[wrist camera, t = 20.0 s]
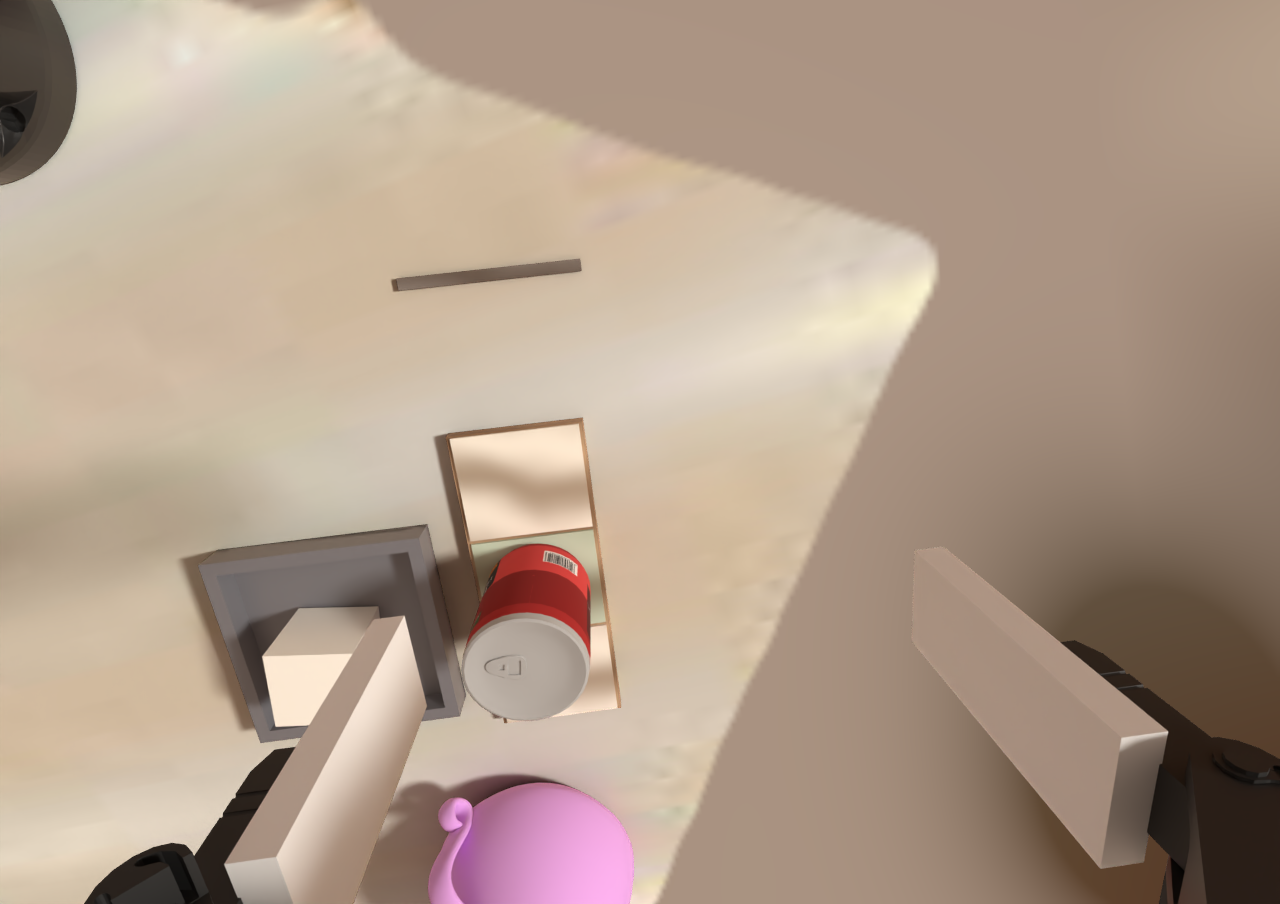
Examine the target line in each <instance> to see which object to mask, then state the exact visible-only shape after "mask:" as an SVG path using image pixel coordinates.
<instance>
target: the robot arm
mask: <svg viewBox="0 0 1280 904" xmlns="http://www.w3.org/2000/svg"><path fill="white" fill-rule="evenodd" d="M76 92H77V83H76V69H75V63H74V57H73V53H72V48H71V45H70V42H69V38H68V35H67V33H66V30H65V27H64V25H63V22H62V20H61V18H60V16H59V14H58V12H57V10H56V8H55V6H54V4H53V2H52V1H51V0H0V185H1V184H6V183H10V182H13V181H16V180H19V179H21V178H23V177H25V176H27V175H29V174H31V173H33V172H34V171H36V170H37V169H39V168H40V167H41V166H43V165H44V164H45V163H46V162H47V161H48V160H49V159H50V158H51V157H52V156H53V155H54V154H55V152H56V151H57V150H58V148H59V147H60V145H61V144H62V142H63V140H64V139H65V137H66V135H67V132H68V130H69V128H70V125H71V122H72V119H73V114H74V110H75V103H76ZM912 643H913V644H914V645H915V646H916V647H917V649H918V650H919V651H920V652H921V653H922V655H923V656H924V657H925V658H926V659H927V661H928V662H929V663H930V664H931V666H932V667H933V668H934V669H935V670H936V671H937V673H938V674H939V675H940V676H941V677H942V679H943V680H944V681H945V682H946V683H947V685H948V686H949V687H950V688H951V689H952V691H953V692H954V693H955V694H956V695H957V697H958V698H959V699H960V700H961V701H962V703H963V704H964V705H965V706H966V708H967V709H968V710H969V711H970V712H971V714H972V715H973V716H974V717H975V718H976V720H977V721H978V722H979V723H980V724H981V726H982V727H983V728H984V729H985V730H986V732H987V733H988V734H989V735H990V736H991V738H992V739H993V740H994V741H995V742H996V744H997V745H998V746H999V747H1000V748H1001V750H1002V751H1003V752H1004V753H1005V755H1006V756H1007V757H1008V758H1009V759H1010V761H1011V762H1012V763H1013V764H1014V765H1015V767H1016V768H1017V769H1018V770H1019V771H1020V772H1021V774H1022V775H1023V776H1024V777H1025V779H1026V780H1027V781H1028V782H1029V783H1030V785H1031V786H1032V787H1033V788H1034V789H1035V791H1036V792H1037V793H1038V794H1039V795H1040V797H1041V798H1042V799H1043V800H1044V801H1045V803H1046V804H1047V805H1048V806H1049V807H1050V809H1051V810H1052V811H1053V812H1054V813H1055V815H1056V816H1057V817H1058V818H1059V819H1060V821H1061V822H1062V823H1063V824H1064V825H1065V827H1066V828H1067V829H1068V830H1069V831H1070V833H1071V834H1072V835H1073V836H1074V837H1075V838H1076V840H1077V841H1078V842H1079V843H1080V845H1081V846H1082V847H1083V848H1084V850H1085V851H1086V852H1087V853H1088V854H1089V856H1090V857H1091V858H1092V859H1093V860H1094V861H1095V863H1096V864H1097V865H1098V866H1099V867H1100V868H1108V867H1115V866H1122V865H1129V864H1135V863H1142V862H1144V858H1145V852H1146V847H1147V842H1148V836H1149V835H1150V836H1151V837H1152V838H1153V839H1154V840H1155V841H1156V842H1157V843H1158V844H1159V845H1160V846H1161V847H1162V848H1163V849H1164V850H1165V851H1166V852H1167V853H1168V854H1169V856H1168V861H1167V866H1166V871H1165V876H1164V881H1163V886H1162V892H1161V896H1160V901H1159V904H1280V759H1278V758H1276V757H1275V756H1273V755H1271V754H1269V753H1267V752H1265V751H1264V750H1262V749H1260V748H1257V747H1254V746H1252V745H1249V744H1246V743H1243V742H1240V741H1237V740H1231V739H1226V738H1220V737H1213V738H1211V737H1210V736H1209V735H1207V734H1206V733H1205V732H1204V731H1202V730H1201V729H1200V728H1198V727H1197V726H1196V725H1195V724H1193V723H1192V722H1190V721H1189V720H1188V719H1187V718H1185V717H1184V716H1183V715H1182V714H1180V713H1179V712H1178V711H1176V710H1175V709H1174V708H1173V707H1171V706H1170V705H1169V704H1167V703H1166V702H1165V701H1164V700H1162V699H1161V698H1159V697H1158V696H1157V695H1156V694H1154V693H1153V692H1152V691H1151V690H1149V689H1148V688H1144V687H1143V684H1141V683H1140V682H1139V681H1138V680H1136V679H1135V678H1134V677H1133V676H1131V675H1130V674H1126V673H1125V671H1124V670H1123V669H1122V668H1121V667H1120V666H1118V665H1117V664H1116V663H1114V662H1113V661H1112V660H1110V659H1109V658H1108V657H1107V656H1105V655H1104V654H1103V653H1101V652H1098V651H1096V650H1094V649H1092V648H1090V647H1088V646H1086V645H1084V644H1082V643H1079V642H1077V641H1075V640H1074V641H1067V642H1059V641H1058V640H1056V639H1055V638H1054V637H1052V635H1050V634H1049V633H1048V632H1047V631H1045V630H1044V629H1043V628H1042V627H1041V626H1039V625H1038V624H1037V623H1036V622H1035V621H1033V620H1032V619H1031V618H1030V617H1029V616H1027V615H1026V614H1025V613H1024V612H1022V611H1021V610H1020V609H1019V608H1017V607H1016V606H1015V605H1014V604H1013V603H1011V602H1010V601H1009V600H1008V599H1007V598H1005V597H1004V596H1003V595H1002V594H1001V593H999V592H998V591H997V590H996V589H994V588H993V587H992V586H991V585H990V584H988V583H987V582H986V581H985V580H983V579H982V578H981V577H980V576H979V575H977V574H976V573H975V572H974V571H973V570H971V569H970V568H969V567H968V566H966V565H965V564H964V563H962V562H961V561H960V560H959V559H958V558H957V557H955V556H954V555H953V554H952V553H951V552H949V551H948V550H947V549H946V548H945V547H936V548H930V549H921V550H915V554H914V584H913V614H912ZM426 707H427V704H426V700H425V696H424V692H423V688H422V684H421V680H420V676H419V672H418V668H417V664H416V660H415V656H414V652H413V648H412V644H411V640H410V636H409V632H408V628H407V624H406V620H405V616H396V617H388V618H381V619H374V620H373V621H372V623H371V625H370V626H369V628H368V630H367V631H366V633H365V634H364V636H363V638H362V639H361V641H360V643H359V644H358V646H357V648H356V649H355V651H354V652H353V654H352V656H351V657H350V659H349V661H348V662H347V664H346V666H345V667H344V669H343V670H342V672H341V674H340V675H339V677H338V679H337V680H336V682H335V684H334V685H333V687H332V688H331V690H330V692H329V693H328V695H327V697H326V698H325V700H324V702H323V703H322V705H321V706H320V708H319V710H318V711H317V713H316V715H315V716H314V718H313V720H312V721H311V723H310V724H309V726H308V728H307V729H306V731H305V733H304V734H303V736H302V738H301V739H300V741H299V743H298V744H297V746H296V747H291V748H284V749H277V750H274V751H273V752H272V753H271V754H269V755H268V756H267V757H266V758H265V759H264V760H263V761H262V762H261V763H259V764H258V765H257V766H256V767H255V768H254V769H253V770H252V771H251V772H250V773H249V775H248V776H247V778H246V779H245V781H244V782H243V784H242V785H241V787H240V788H239V790H238V791H237V793H236V797H235V798H234V799H232V800H231V802H230V803H229V805H228V806H227V808H226V809H225V811H224V812H223V817H222V818H219V820H218V821H217V823H216V824H215V826H214V827H213V829H212V830H211V832H210V833H209V835H208V836H207V838H206V839H205V841H204V842H203V844H202V845H201V847H200V848H199V850H198V851H197V853H196V854H195V856H194V855H193V853H192V852H191V850H190V849H189V848H188V847H187V846H186V845H183V844H176V843H170V844H165V845H161V846H156V847H153V848H151V849H148V850H146V851H144V852H142V853H140V854H138V855H135V856H133V857H132V858H130V859H129V860H127V861H126V862H124V863H123V864H122V865H120V866H119V867H117V868H116V869H114V870H113V871H112V872H111V873H110V874H109V875H108V876H106V877H105V878H104V879H103V880H102V881H101V882H100V883H99V884H98V885H97V886H96V887H95V888H94V890H93V891H92V893H91V894H90V896H89V897H88V899H87V900H86V902H85V903H84V904H353V903H354V900H355V898H356V895H357V892H358V890H359V887H360V884H361V882H362V879H363V876H364V874H365V871H366V868H367V866H368V863H369V860H370V857H371V855H372V852H373V849H374V847H375V844H376V841H377V839H378V836H379V833H380V831H381V828H382V825H383V823H384V820H385V817H386V815H387V812H388V809H389V807H390V804H391V801H392V799H393V796H394V793H395V790H396V788H397V785H398V782H399V780H400V777H401V774H402V772H403V769H404V766H405V764H406V761H407V758H408V756H409V753H410V750H411V748H412V745H413V742H414V740H415V737H416V734H417V731H418V729H419V726H420V723H421V721H422V718H423V715H424V713H425V710H426Z"/></svg>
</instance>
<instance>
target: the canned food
mask: <svg viewBox="0 0 1280 904" xmlns="http://www.w3.org/2000/svg"><path fill="white" fill-rule="evenodd" d="M590 657H591V590H590V581H589V578H588V574H587V573H586V571H585V569H584V567H583V566H582V564H581V563H580V562H579V561H578V560H577V559H576V557H574V556H573V555H572V554H571V553H569V552H568V551H566V550H564V549H562V548H560V547H557V546H553V545H549V544H529V545H525V546H521V547H519V548H517V549H514V550H513V551H511V552H510V553H508V554H507V555H505V556H504V557H503V558H502V559H501V560H500V561H499V562H498V563H497V564H496V565H495V566H494V568H493V569H492V571H491V573H490V576H489V579H488V582H487V584H486V587H485V590H484V593H483V596H482V599H481V602H480V605H479V608H478V611H477V614H476V617H475V620H474V623H473V626H472V629H471V632H470V635H469V638H468V641H467V644H466V648H465V651H464V654H463V660H462V670H461V671H462V678H463V682H464V685H465V687H466V690H467V691H468V693H469V694H470V696H471V697H472V698H473V700H475V701H476V702H477V703H478V704H479V705H480V706H481V707H482V708H484V709H485V710H487V711H489V712H490V713H492V714H495V715H497V716H499V717H502V718H506V719H510V720H517V721H534V720H540V719H545V718H549V717H551V716H554V715H556V714H559V713H561V712H562V711H564V710H565V709H567V708H569V707H570V706H571V705H572V704H573V703H574V702H575V701H576V700H577V699H578V698H579V697H580V695H581V694H582V692H583V691H584V689H585V686H586V684H587V681H588V676H589V670H590Z"/></svg>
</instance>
